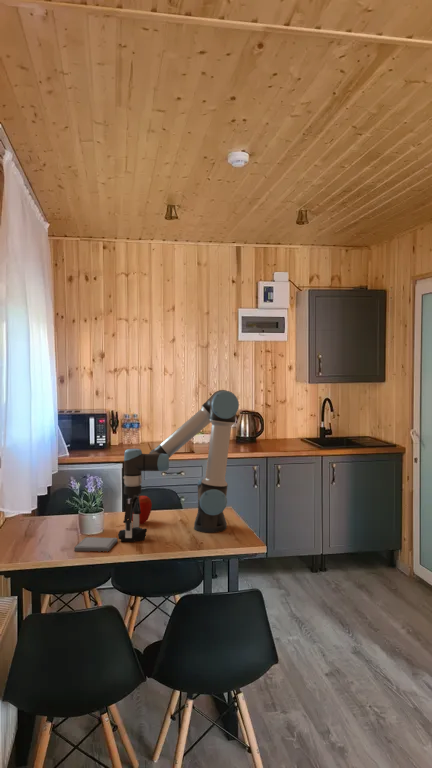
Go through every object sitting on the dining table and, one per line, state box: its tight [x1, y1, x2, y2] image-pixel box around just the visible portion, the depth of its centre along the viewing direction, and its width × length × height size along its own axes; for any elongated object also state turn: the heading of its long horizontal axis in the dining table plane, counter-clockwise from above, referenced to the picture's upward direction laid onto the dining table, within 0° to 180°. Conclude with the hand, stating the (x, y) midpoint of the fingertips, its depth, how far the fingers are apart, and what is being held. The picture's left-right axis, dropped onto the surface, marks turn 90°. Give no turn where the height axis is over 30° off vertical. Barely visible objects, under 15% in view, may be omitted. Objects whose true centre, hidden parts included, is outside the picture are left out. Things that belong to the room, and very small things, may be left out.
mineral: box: [117, 526, 148, 543], centre depth 242 cm, size 10×9×6 cm
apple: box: [132, 494, 153, 525], centre depth 269 cm, size 12×12×14 cm
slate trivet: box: [74, 536, 118, 553], centre depth 234 cm, size 14×14×2 cm
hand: (132, 533), depth 244 cm, fingers open, 13 cm apart
